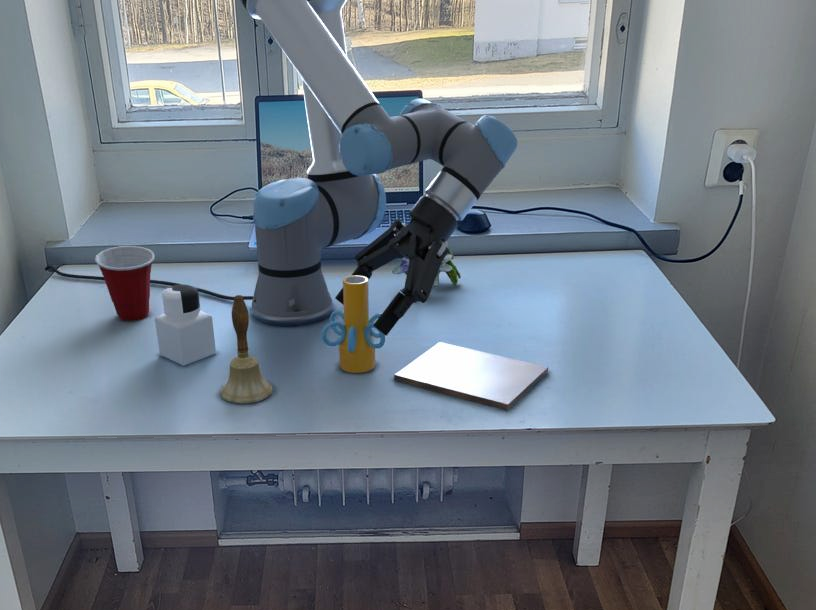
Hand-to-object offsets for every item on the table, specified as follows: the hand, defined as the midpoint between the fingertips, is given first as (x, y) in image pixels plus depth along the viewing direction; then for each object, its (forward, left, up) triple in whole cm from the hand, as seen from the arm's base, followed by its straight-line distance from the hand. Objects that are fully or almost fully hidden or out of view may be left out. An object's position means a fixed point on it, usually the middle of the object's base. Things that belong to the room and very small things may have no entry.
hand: (359, 316), depth 148 cm
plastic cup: (-49, -3, -9) cm, 50 cm away
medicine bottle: (-28, -11, -9) cm, 32 cm away
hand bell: (-10, -17, -9) cm, 22 cm away
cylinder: (0, 0, -9) cm, 9 cm away
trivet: (+18, +6, -9) cm, 21 cm away
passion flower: (-9, +39, -9) cm, 41 cm away
